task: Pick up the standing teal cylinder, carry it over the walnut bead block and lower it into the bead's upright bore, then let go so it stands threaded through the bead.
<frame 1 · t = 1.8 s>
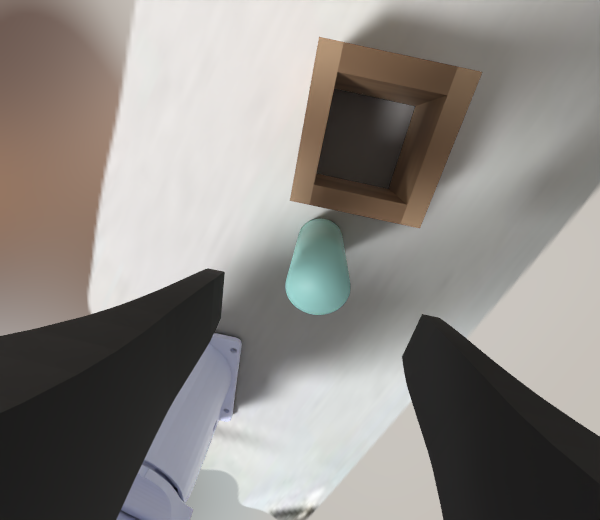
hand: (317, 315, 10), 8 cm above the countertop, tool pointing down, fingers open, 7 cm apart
teal cylinder: (320, 240, 17), on the countertop
bead block: (363, 141, 15), on the countertop
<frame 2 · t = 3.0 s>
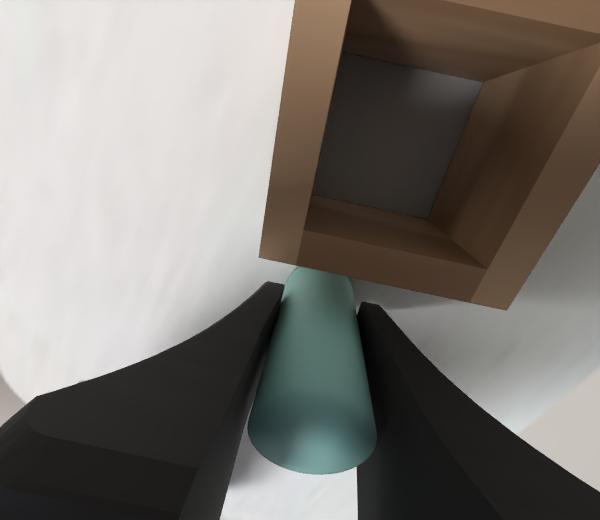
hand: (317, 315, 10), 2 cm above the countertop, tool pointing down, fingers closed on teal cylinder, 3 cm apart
teal cylinder: (318, 292, 11), on the countertop, touching gripper
bead block: (389, 144, 9), on the countertop
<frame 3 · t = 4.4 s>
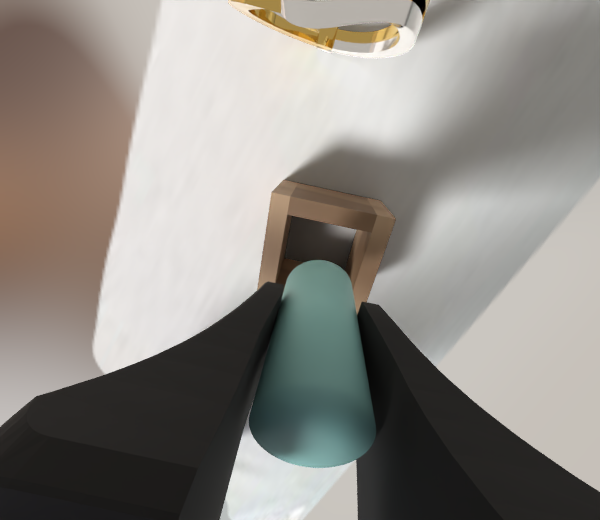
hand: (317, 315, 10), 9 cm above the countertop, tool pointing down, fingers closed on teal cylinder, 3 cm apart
teal cylinder: (318, 290, 11), point 7 cm above the countertop, touching gripper
bead block: (321, 236, 18), on the countertop
ring: (326, 42, 14), on the countertop
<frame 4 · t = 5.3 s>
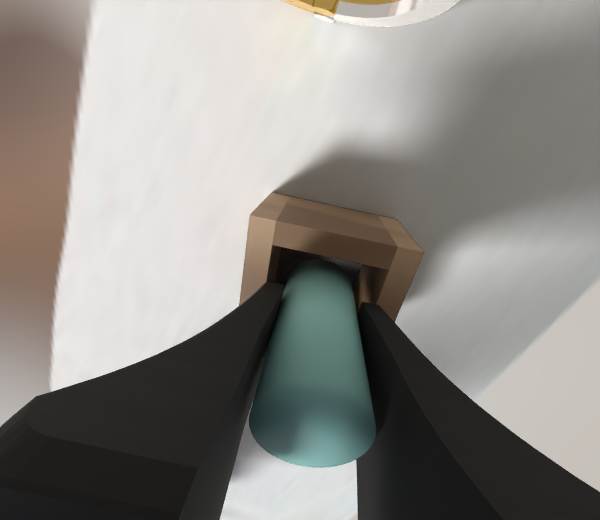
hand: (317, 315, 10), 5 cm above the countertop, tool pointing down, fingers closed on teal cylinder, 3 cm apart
teal cylinder: (318, 290, 11), point 3 cm above the countertop, touching gripper
bead block: (319, 262, 14), on the countertop
ring: (326, 8, 10), on the countertop
when the fingers open (5 cm above the countertop, at t = 5.9 s): teal cylinder drops 3 cm, resting in bead block.
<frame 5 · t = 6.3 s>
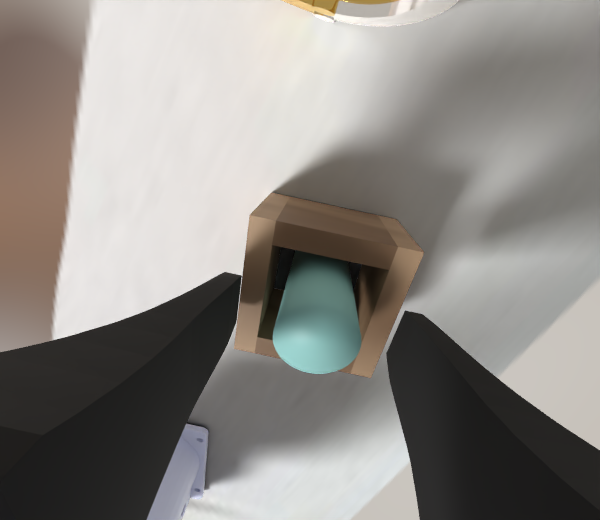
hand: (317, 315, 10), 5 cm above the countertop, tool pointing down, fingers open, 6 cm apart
teal cylinder: (320, 261, 14), resting in bead block
bead block: (319, 262, 14), on the countertop
ring: (326, 8, 10), on the countertop
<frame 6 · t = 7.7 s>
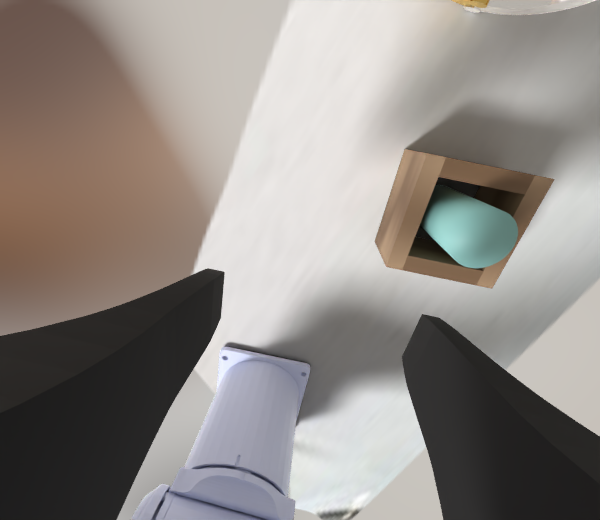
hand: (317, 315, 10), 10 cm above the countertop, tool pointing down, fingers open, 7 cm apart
teal cylinder: (434, 207, 18), resting in bead block
bead block: (434, 207, 18), on the countertop
ring: (472, 2, 13), on the countertop
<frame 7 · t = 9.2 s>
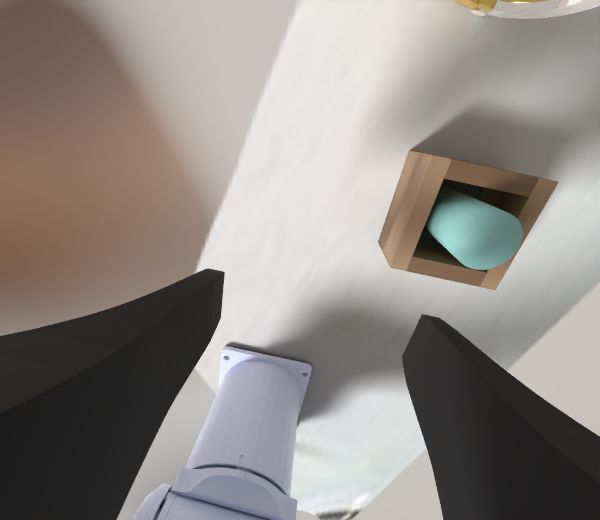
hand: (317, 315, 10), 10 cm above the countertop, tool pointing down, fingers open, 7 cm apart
teal cylinder: (438, 208, 18), resting in bead block
bead block: (438, 209, 18), on the countertop
ring: (478, 5, 14), on the countertop
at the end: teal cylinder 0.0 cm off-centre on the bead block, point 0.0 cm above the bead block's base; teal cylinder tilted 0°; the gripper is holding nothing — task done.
